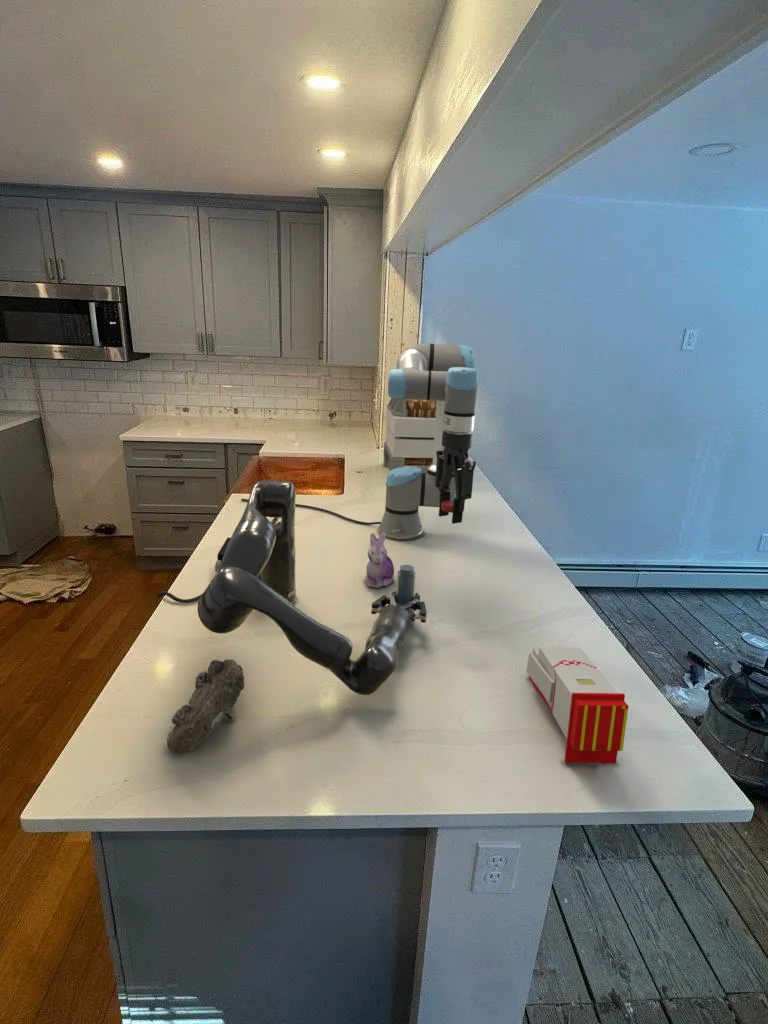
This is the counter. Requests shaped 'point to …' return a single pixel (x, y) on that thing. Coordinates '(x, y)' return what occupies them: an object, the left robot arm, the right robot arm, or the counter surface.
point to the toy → (580, 703)
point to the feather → (273, 520)
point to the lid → (447, 506)
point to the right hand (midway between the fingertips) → (450, 518)
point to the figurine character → (221, 554)
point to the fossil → (206, 705)
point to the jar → (405, 584)
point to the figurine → (379, 563)
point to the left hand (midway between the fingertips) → (407, 594)
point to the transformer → (409, 432)
